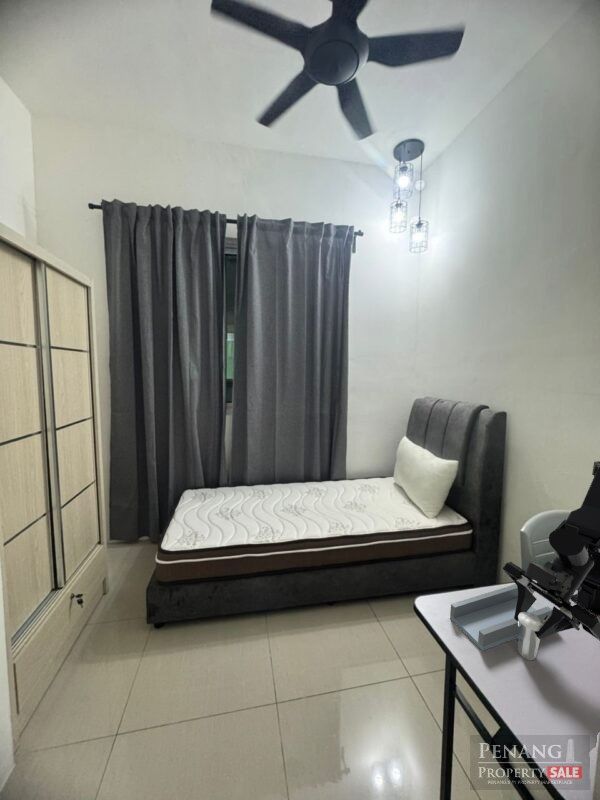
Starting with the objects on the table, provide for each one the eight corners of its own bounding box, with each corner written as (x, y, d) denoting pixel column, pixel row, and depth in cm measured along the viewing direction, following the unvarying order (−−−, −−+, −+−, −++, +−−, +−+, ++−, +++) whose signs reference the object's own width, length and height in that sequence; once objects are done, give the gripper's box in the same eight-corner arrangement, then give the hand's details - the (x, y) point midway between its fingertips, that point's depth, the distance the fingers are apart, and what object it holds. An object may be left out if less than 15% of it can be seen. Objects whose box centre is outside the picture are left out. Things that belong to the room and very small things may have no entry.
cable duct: (514, 597, 87) (515, 584, 86) (551, 624, 78) (552, 609, 77) (450, 618, 80) (451, 603, 79) (482, 650, 71) (483, 634, 70)
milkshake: (547, 666, 67) (554, 624, 66) (519, 661, 68) (525, 620, 67) (536, 646, 72) (542, 607, 70) (510, 642, 73) (515, 603, 71)
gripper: (510, 529, 77) (472, 581, 75) (605, 580, 60) (557, 650, 57) (531, 553, 81) (494, 603, 78) (625, 608, 63) (581, 674, 61)
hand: (526, 628), depth 69 cm, fingers closed on milkshake, 4 cm apart
